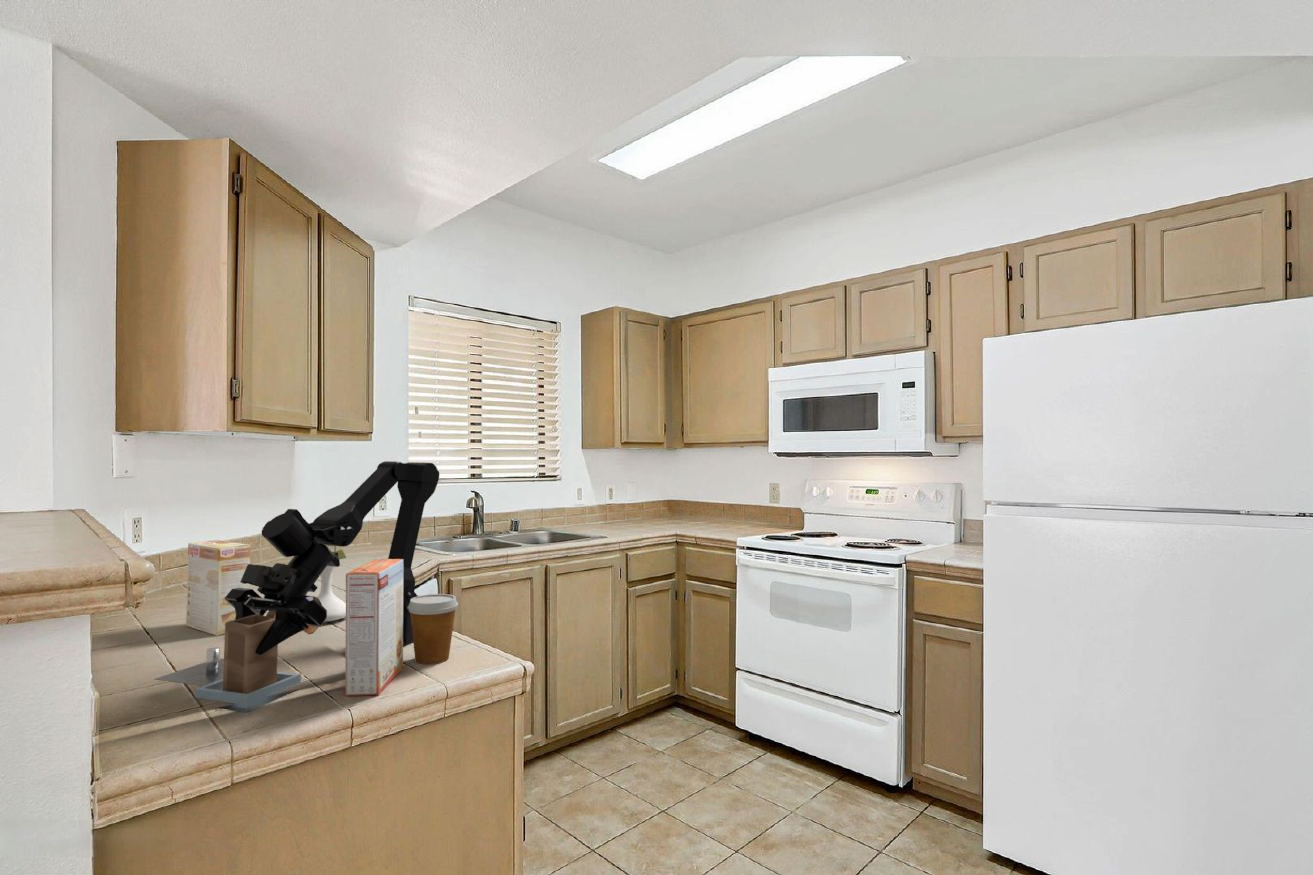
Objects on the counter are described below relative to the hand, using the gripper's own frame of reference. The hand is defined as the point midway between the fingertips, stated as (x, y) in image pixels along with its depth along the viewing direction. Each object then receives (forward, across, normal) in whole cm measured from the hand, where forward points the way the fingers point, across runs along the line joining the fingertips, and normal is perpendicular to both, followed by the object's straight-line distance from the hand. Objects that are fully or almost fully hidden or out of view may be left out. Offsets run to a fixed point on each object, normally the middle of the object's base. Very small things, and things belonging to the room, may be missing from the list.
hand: (242, 651), depth 107 cm
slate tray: (+5, 0, +7) cm, 8 cm away
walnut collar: (+4, 0, +6) cm, 7 cm away
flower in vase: (-25, -29, +36) cm, 52 cm away
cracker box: (-4, +14, +16) cm, 22 cm away
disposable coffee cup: (-14, +15, +26) cm, 33 cm away
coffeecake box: (-14, -46, +26) cm, 55 cm away
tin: (-15, -24, +27) cm, 39 cm away
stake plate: (+2, -14, +9) cm, 17 cm away
